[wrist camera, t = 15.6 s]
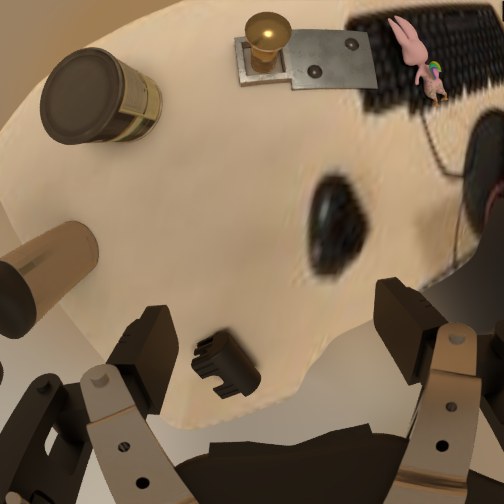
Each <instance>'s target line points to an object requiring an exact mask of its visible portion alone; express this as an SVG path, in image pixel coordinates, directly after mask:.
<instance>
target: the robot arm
mask: <svg viewBox="0 0 504 504" xmlns="http://www.w3.org/2000/svg"><path fill="white" fill-rule="evenodd" d="M97 260H98V247H97V243H96V240H95V238H94V236H93V234H92V233H91V232H90V231H89V229H88V228H87V227H85V226H84V225H83V224H81V223H79V222H75V221H69V222H65V223H63V224H61V225H59V226H57V227H55V228H53V229H51V230H49V231H47V232H46V233H44V234H42V235H40V236H38V237H36V238H34V239H33V240H31V241H29V242H27V243H25V244H24V245H22V246H20V247H18V248H17V249H15V250H13V251H11V252H10V253H8V254H7V255H5V256H3V257H2V258H0V334H1V335H3V336H5V337H7V338H10V339H19V338H21V337H23V336H24V335H25V334H26V333H28V332H29V331H30V329H31V328H32V327H33V326H34V325H35V324H36V323H37V322H38V321H39V320H40V319H41V318H42V317H43V316H44V315H45V314H46V313H47V312H48V311H49V310H50V309H51V308H52V307H53V306H54V305H55V304H56V303H57V302H58V301H59V300H60V299H61V298H62V297H64V296H65V295H66V294H67V293H68V292H69V291H70V290H71V289H72V288H73V287H74V286H75V285H76V284H77V283H79V282H80V281H81V280H82V279H83V278H84V277H85V276H86V275H87V274H89V273H90V272H91V271H92V270H93V269H94V267H95V266H96V263H97ZM373 319H374V325H375V328H376V331H377V332H378V334H379V336H380V337H381V338H382V341H383V342H384V344H385V346H386V347H387V349H388V351H389V352H390V354H391V356H392V357H393V359H394V361H395V363H396V364H397V366H398V367H399V369H400V371H401V373H402V374H403V376H404V378H405V380H406V382H407V384H408V385H409V386H410V385H413V384H416V383H419V382H420V383H421V385H422V388H421V391H420V394H419V397H418V400H417V404H416V407H415V410H414V413H413V416H412V419H411V422H410V425H409V427H408V430H407V433H406V435H405V437H404V438H403V437H400V436H396V435H391V434H384V433H372V431H371V428H370V426H369V424H368V423H367V424H363V425H359V426H355V427H350V428H345V429H340V430H335V431H331V432H328V433H326V434H323V435H321V436H318V437H316V438H313V439H310V440H307V441H305V442H302V443H299V444H296V445H292V446H283V445H274V444H265V443H256V442H250V441H246V442H221V443H220V442H219V443H210V447H209V453H208V454H203V455H199V456H196V457H194V458H191V459H188V460H186V461H184V462H183V463H180V464H179V465H177V466H176V467H175V466H174V465H173V464H172V462H171V461H170V459H169V458H168V456H167V455H166V453H165V452H164V450H163V448H162V447H161V445H160V444H159V442H158V440H157V439H156V437H155V436H154V434H153V432H152V431H151V429H150V427H149V425H148V424H147V422H146V418H147V415H148V414H154V415H160V411H161V408H162V404H163V401H164V398H165V394H166V391H167V388H168V384H169V381H170V378H171V375H172V371H173V368H174V365H175V362H176V359H177V355H178V351H179V343H178V338H177V334H176V331H175V328H174V325H173V321H172V318H171V315H170V311H169V308H168V307H167V305H157V306H147V307H146V309H145V310H144V312H143V314H142V316H141V317H140V319H136V320H135V321H134V322H132V323H131V324H130V325H129V326H128V327H127V328H126V330H125V331H124V333H123V336H122V337H121V338H120V340H119V341H118V342H119V343H117V345H116V346H115V348H114V350H113V351H112V353H111V355H110V357H109V358H108V360H107V362H106V364H102V365H97V366H95V367H93V368H91V369H89V370H88V371H87V372H85V374H84V375H83V376H82V378H81V380H80V382H79V383H73V384H66V385H63V383H62V381H61V380H60V378H59V377H58V376H57V375H56V374H52V373H48V374H44V375H41V376H39V377H37V378H36V379H35V380H34V381H33V382H32V383H31V384H30V386H29V387H28V389H27V390H26V392H25V393H24V395H23V397H22V398H21V400H20V401H19V403H18V405H17V406H16V408H15V409H14V411H13V413H12V414H11V416H10V418H9V420H8V421H7V423H6V425H5V426H4V428H3V430H2V432H1V433H0V504H75V503H76V500H77V497H78V493H79V490H80V487H81V483H82V480H83V476H84V474H85V470H86V467H87V464H88V460H89V458H90V455H91V452H92V449H94V451H95V454H96V457H97V460H98V462H99V465H100V468H101V470H102V472H103V475H104V477H105V480H106V482H107V484H108V487H109V489H110V492H111V494H112V496H113V498H114V500H115V502H116V504H504V483H502V482H499V481H496V480H494V479H492V478H489V477H487V476H484V475H482V474H479V473H477V472H475V471H473V470H471V469H469V466H470V462H471V457H472V453H473V448H474V442H475V436H476V430H477V423H478V415H479V407H480V409H481V411H482V412H483V414H484V416H485V418H486V419H487V421H488V423H489V425H490V427H491V428H492V430H493V432H494V434H495V436H496V438H497V440H498V442H499V444H500V446H501V447H502V449H503V451H504V320H501V321H499V322H498V323H497V324H496V325H495V328H494V331H493V334H489V335H476V334H475V332H474V330H472V329H471V328H470V327H469V326H467V325H464V324H461V323H449V322H448V321H447V320H446V319H445V318H444V317H443V316H442V315H441V314H440V313H439V312H438V311H437V310H436V309H435V308H434V307H433V306H432V305H431V303H430V302H429V301H426V298H425V297H424V296H423V295H422V294H421V293H420V292H418V291H416V290H414V289H412V288H410V287H406V286H405V285H404V284H403V283H402V282H401V281H400V280H399V279H398V278H396V277H393V278H387V279H380V280H378V281H377V282H376V288H375V302H374V314H373ZM3 373H4V372H3V367H2V364H1V362H0V385H1V382H2V379H3ZM52 427H53V428H54V429H55V431H56V432H57V433H58V435H57V437H56V439H55V442H54V444H53V446H52V448H51V451H50V453H49V456H48V455H47V454H46V451H45V441H46V439H47V436H48V434H49V432H50V430H51V428H52Z"/></svg>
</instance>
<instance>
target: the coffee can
mask: <svg viewBox="0 0 504 504" xmlns="http://www.w3.org/2000/svg"><path fill="white" fill-rule="evenodd" d="M161 110H162V96H161V92H160V90H159V88H158V86H157V85H156V84H155V82H154V81H152V80H151V79H150V78H148V77H146V76H144V75H142V74H141V73H139V72H138V71H136V70H134V69H133V68H131V67H129V66H128V65H126V64H125V63H123V62H121V61H120V60H118V59H116V58H115V57H114V56H113V55H112V54H111V53H109V52H107V51H106V50H103V49H101V48H95V47H90V48H84V49H80V50H77V51H75V52H73V53H72V54H70V55H68V56H67V57H65V58H64V59H63V60H62V61H61V62H60V63H59V64H58V65H57V66H56V67H55V68H54V69H53V71H52V72H51V74H50V75H49V77H48V79H47V81H46V83H45V85H44V88H43V91H42V95H41V100H40V115H41V120H42V124H43V126H44V128H45V130H46V132H47V133H48V135H49V136H50V137H51V138H53V139H54V140H55V141H57V142H59V143H62V144H65V145H76V144H81V143H99V142H120V143H129V142H133V141H137V140H139V139H141V138H142V137H144V136H145V135H147V134H148V133H149V132H150V131H151V130H152V129H153V127H154V126H155V125H156V123H157V121H158V119H159V117H160V114H161Z"/></svg>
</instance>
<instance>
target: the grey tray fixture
mask: <svg viewBox="0 0 504 504" xmlns="http://www.w3.org/2000/svg"><path fill="white" fill-rule="evenodd" d="M234 40H235V47H236V54H237V62H238V69H239V76H240V83H241V87H243V86H251V85H261V84H271V83H284V82H291V86H292V90H307V89H370V90H376V89H378V87H377V81H376V75H375V69H374V64H373V59H372V54H371V49H370V44H369V40H368V35H367V32H358V31H344V30H319V29H299V30H292V33H291V37H290V40H289V42H288V43H287V45H286V46H285V47H283V48H282V49H280V54H281V60H282V66H283V73H273V74H262V75H252V76H246V72H245V65H244V58H243V51H242V48H248V47H251V45H250V44H249V43H248V41H247V39H246V36H245V37H236V38H234Z"/></svg>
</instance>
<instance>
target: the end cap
mask: <svg viewBox="0 0 504 504" xmlns="http://www.w3.org/2000/svg"><path fill="white" fill-rule="evenodd" d="M197 347H198V348H197V349H195V351H194V355H195V356H196V355H198V354H199V355H200V356H199V357H197V358H194V359H192V363H191V367H192V369H193V370H194V371H195V372H196V373H197V374H198V375H199V376H200V377H201V378H202V379H204V378H206V377H209V376H213V375H215V376H219V377H220V378H221V379H222V380H223V381H224V383H223V384H222V385H220V386H218V387H215V388H213V391H214V392H215V393H216V394H217V395H218V396H220V397H221V398H222V399H225V398H228V397H230V396H233V395H236V394H238V393H242V394H243V395H244V396H245V397H246V396H248V395H250V394H252V393H253V392H254V391H255V390H256V389H257V388H258V386H259V384H260V382H261V375H260V373H259V372H258V371H257V369H256V368H255V367H254V366H253V365H252V363H251V362H250V361H249V360H248V358H247V357H246V356H245V355H244V354H243V352H242V351H241V350H240V349H239V347H238V346H237V345H236V344H235V342H234V341H233V340H232V339H231V337H230V336H229V335H228V334H227V333H217V334H215V335H213V336H211V337H209V338H207V339H205V340H202V341H200V342H199V343H198V345H197Z"/></svg>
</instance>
